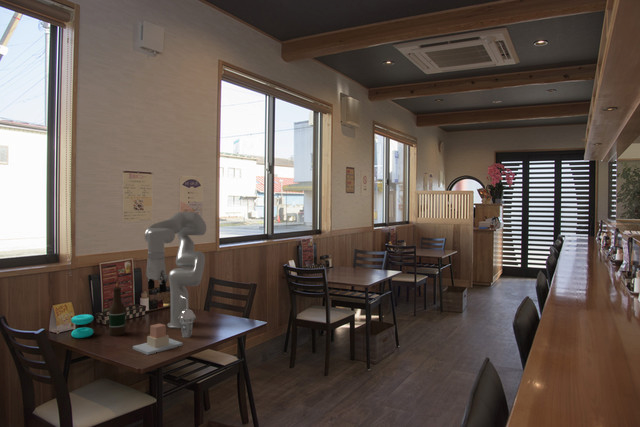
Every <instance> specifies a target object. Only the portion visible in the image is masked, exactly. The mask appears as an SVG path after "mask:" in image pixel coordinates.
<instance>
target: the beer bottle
mask: <svg viewBox="0 0 640 427" xmlns="http://www.w3.org/2000/svg"><path fill="white" fill-rule="evenodd" d="M112 290H113V300H112V303H111V306H110V308H109V310H108V333H109V335H110V336H112V337H114V336H115V337H118V336H123V335H125V334H126V328H127V327H126V321H127V320H126V319H127V318H126V314H127V313H126V307H125V305H124V304H123V302H122V301H123V300H122V292H121V291H122V287H120V286H116V287H114V288H113V289H112Z"/></svg>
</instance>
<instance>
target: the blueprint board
mask: <svg viewBox="0 0 640 427" xmlns="http://www.w3.org/2000/svg"><path fill="white" fill-rule="evenodd" d="M183 345H184V343H183V342H181V341H180V340H176V339H173V338H170V335H168V334H166V336H163V337H159V338H154V337H151V336H150V335H147V336H146V342H144V343H141V344H135V345H132V350H134V351H137V352H140V353H142V354H144V355H147V356H149V355H152V354H156V352H157V353H161V352H164V351H167V350H168V351H169V350H170V349H175V348H178V346H179V347H183Z"/></svg>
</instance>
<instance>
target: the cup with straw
mask: <svg viewBox="0 0 640 427" xmlns="http://www.w3.org/2000/svg"><path fill="white" fill-rule="evenodd" d="M180 297H181V298H183V299H186V309H184V310H183V311H182V312H181V313H180V315H179V316H178V318H179V319H180V323H181V328H180V330H181V335H182V336H181V337H182V338H184V339H185V338H190V337H192V333H193V325H194V321H195V319H194V318H195V316H196V314H195V313H194V312H193V310H191V309H190V308H189V303H188V299H187V298H185V297H182V296H180Z"/></svg>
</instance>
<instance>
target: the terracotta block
mask: <svg viewBox="0 0 640 427" xmlns="http://www.w3.org/2000/svg"><path fill="white" fill-rule="evenodd" d="M166 326H167V325H166V324H164V323H156V324H151V325H149V336H151V337H154V338H159V337H163V336H166V335H167V331H166V330H167V329H166Z"/></svg>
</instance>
